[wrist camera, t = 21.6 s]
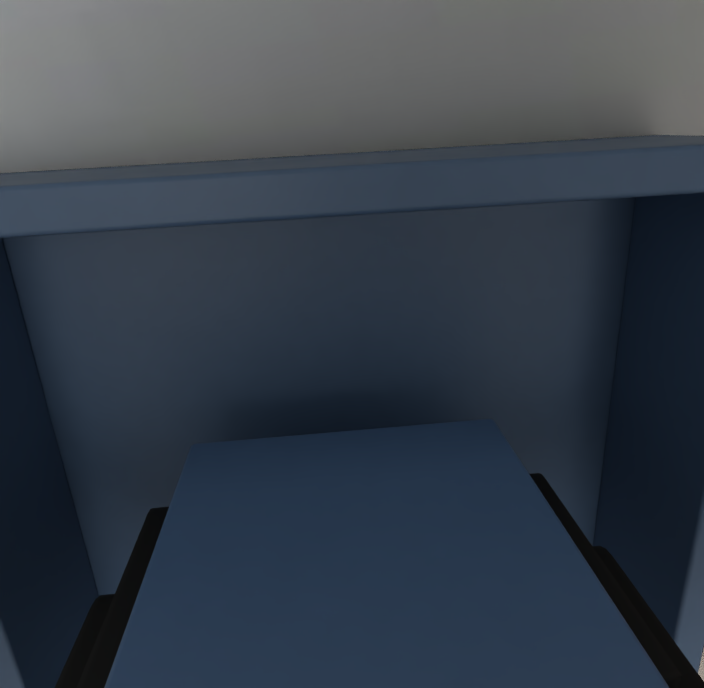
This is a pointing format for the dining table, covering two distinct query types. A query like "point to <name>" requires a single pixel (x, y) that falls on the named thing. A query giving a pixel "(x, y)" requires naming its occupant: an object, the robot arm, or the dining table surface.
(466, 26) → the dining table surface
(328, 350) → the blue bin
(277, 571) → the blue block
